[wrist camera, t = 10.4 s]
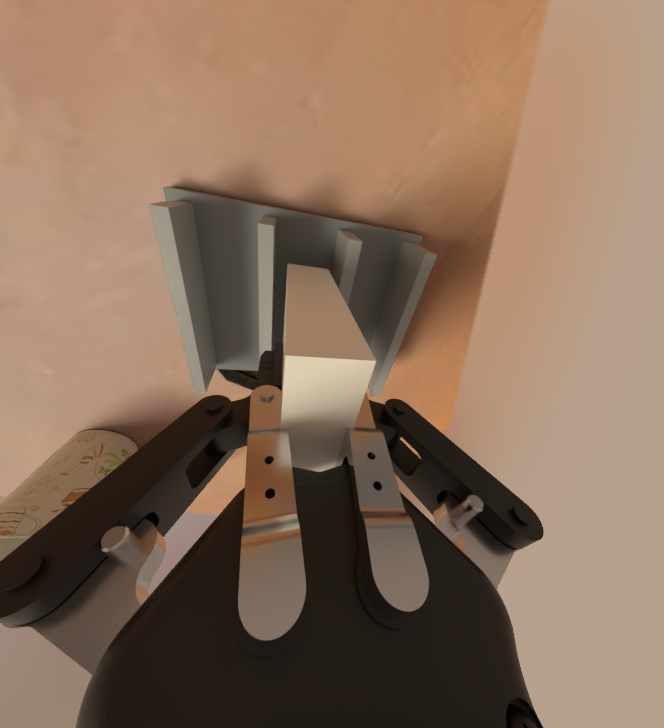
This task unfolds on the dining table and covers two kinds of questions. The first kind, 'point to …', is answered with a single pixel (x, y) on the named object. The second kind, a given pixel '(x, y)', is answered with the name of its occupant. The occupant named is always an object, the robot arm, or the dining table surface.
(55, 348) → the dining table surface
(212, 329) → the dish rack
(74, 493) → the mug
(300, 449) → the cream rectangular block
